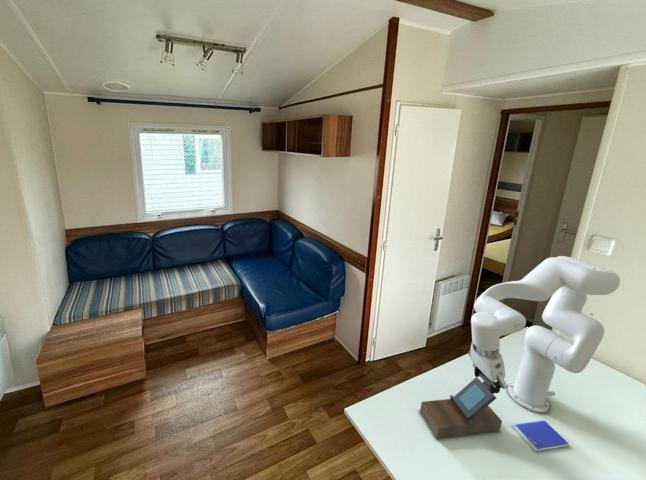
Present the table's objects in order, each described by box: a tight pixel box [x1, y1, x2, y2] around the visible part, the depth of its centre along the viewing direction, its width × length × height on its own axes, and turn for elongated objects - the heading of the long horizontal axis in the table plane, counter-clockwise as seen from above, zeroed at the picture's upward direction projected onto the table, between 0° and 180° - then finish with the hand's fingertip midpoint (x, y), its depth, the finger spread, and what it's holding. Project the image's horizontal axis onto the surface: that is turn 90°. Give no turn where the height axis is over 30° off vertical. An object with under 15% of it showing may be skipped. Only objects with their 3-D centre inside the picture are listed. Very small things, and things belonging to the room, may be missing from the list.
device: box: [453, 372, 497, 420], centre depth 102 cm, size 16×8×4 cm
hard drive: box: [513, 420, 569, 452], centre depth 100 cm, size 2×8×12 cm
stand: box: [419, 394, 503, 440], centre depth 104 cm, size 24×10×7 cm, turn 97°
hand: (486, 383), depth 102 cm, fingers open, 6 cm apart
